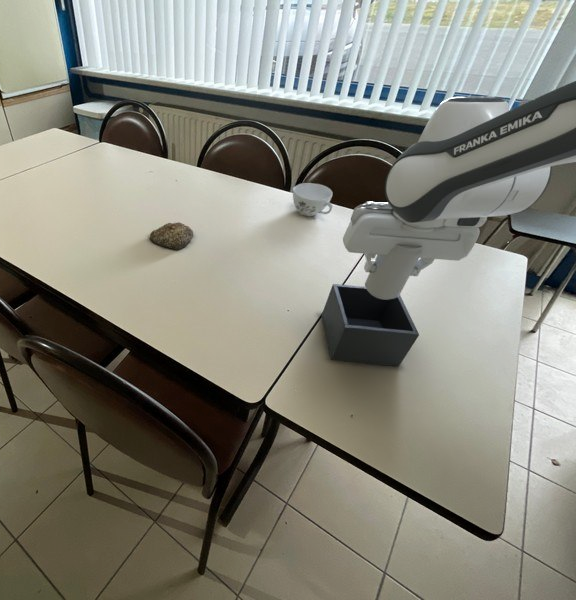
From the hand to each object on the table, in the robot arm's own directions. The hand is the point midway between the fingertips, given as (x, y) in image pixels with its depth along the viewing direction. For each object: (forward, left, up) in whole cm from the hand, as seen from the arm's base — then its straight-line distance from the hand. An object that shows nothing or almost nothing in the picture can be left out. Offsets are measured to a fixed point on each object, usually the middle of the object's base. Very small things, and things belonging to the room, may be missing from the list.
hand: (390, 272), depth 69 cm
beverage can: (0, 0, -5) cm, 5 cm away
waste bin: (0, 0, -19) cm, 19 cm away
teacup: (+58, +3, -19) cm, 61 cm away
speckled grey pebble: (+36, +47, -19) cm, 62 cm away
